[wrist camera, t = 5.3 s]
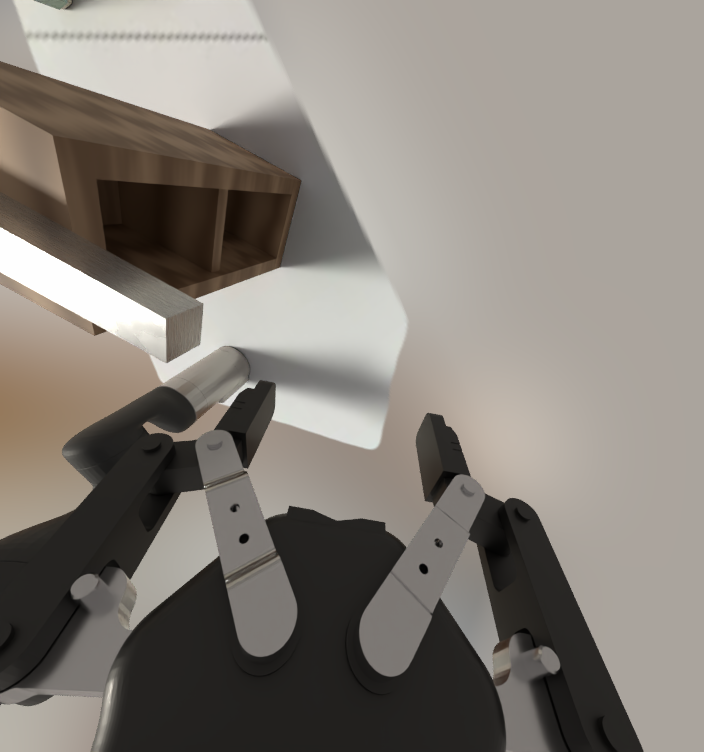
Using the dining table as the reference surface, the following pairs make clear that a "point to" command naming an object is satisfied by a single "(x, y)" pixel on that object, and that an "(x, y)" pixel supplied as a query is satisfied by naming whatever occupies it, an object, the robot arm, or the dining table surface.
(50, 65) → the dining table surface
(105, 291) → the metal bar
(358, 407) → the dining table surface
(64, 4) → the disposable coffee cup
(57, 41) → the dining table surface
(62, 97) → the walnut shelf
